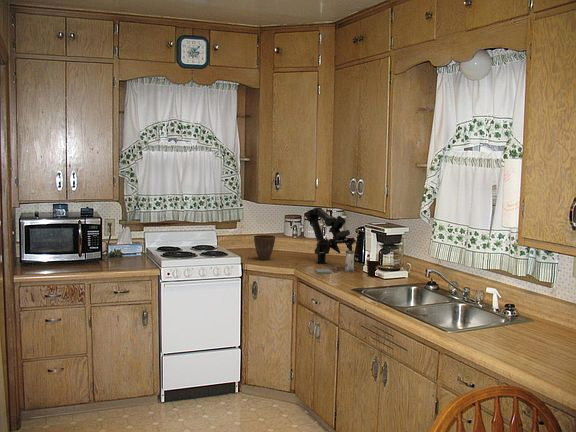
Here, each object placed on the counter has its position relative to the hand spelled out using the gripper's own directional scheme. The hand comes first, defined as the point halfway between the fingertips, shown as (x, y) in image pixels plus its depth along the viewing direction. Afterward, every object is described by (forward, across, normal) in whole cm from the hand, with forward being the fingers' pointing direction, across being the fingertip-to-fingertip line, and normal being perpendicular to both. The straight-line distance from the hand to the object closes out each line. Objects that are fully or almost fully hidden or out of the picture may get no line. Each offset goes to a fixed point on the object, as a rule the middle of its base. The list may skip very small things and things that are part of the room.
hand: (345, 252), depth 379 cm
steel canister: (+11, 0, +5) cm, 12 cm away
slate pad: (+8, -17, +8) cm, 20 cm away
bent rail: (+8, -7, +8) cm, 13 cm away
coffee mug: (+24, +7, -7) cm, 26 cm away
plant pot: (-31, -31, +47) cm, 64 cm away
